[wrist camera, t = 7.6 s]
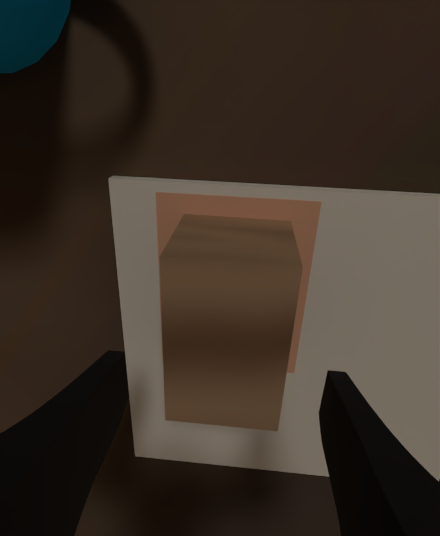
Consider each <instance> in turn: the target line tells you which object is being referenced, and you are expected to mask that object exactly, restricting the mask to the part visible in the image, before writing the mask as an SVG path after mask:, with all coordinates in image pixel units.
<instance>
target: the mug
mask: <svg viewBox="0 0 440 536" xmlns="http://www.w3.org/2000/svg"><path fill="white" fill-rule="evenodd" d="M70 4H71V0H0V73H14V72H16V71H19V70H21V69H23V68H25V67H28V66H30V65H32V64H34V63H36V62H38V61H39V60H40V59H41V58H42V57H43V56H44V55H45V53H46V52H47V51H48V50H49V49H50V48H51V47H52V46H53V45H54V44H55V43H56V42H57V40H58V38H59V35H60V33H61V30H62V28H63V26H64V23H65V21H66V18H67V16H68V13H69V11H70Z"/></svg>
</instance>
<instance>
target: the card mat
mask: <svg viewBox="0 0 440 536" xmlns="http://www.w3.org/2000/svg"><path fill="white" fill-rule="evenodd" d="M108 180H109V190H110V201H111V211H112V221H113V232H114V242H115V253H116V263H117V273H118V284H119V294H120V305H121V315H122V325H123V336H124V346H125V357H126V367H127V377H128V388H129V398H130V409H131V419H132V429H133V440H134V450H135V456H138V457H147V458H157V459H166V460H176V461H185V462H195V463H205V464H214V465H224V466H233V467H243V468H252V469H262V470H272V471H281V472H291V473H300V474H310V475H319V476H329V473H328V469H327V464H326V460H325V455H324V451H323V446H322V441H321V432H320V423H319V409H320V404H321V399H322V395H323V390H324V385H325V380H326V376H327V371H328V370H331V371H342V372H346V373H347V374H348V375H349V377H350V378H351V380H352V381H353V383H354V384H355V385H356V387H357V388H358V390H359V391H360V392H361V394H362V395H363V396H364V398H365V399H366V401H367V402H368V403H369V405H370V406H371V407H372V409H373V410H374V411H375V412H376V414H377V415H378V416H379V417H380V419H381V420H382V421H383V423H384V424H385V425H386V426H387V427H388V429H389V430H390V431H391V432H392V433H393V435H394V436H395V437H396V438H397V439H398V440H399V442H400V443H401V444H402V445H403V446H404V447H405V448H406V449H407V450H408V452H409V453H410V454H411V455H412V456H413V457H414V458H415V459H416V460H417V461H418V462H419V463H420V464H421V465H422V466H423V467H424V468H425V469H426V470H427V471H428V472H429V473H430V474H431V475H432V476H433V477H434V478H435V479H436V480H438V481H439V479H440V194H431V193H413V192H396V191H378V190H360V189H342V188H324V187H306V186H288V185H270V184H252V183H234V182H216V181H198V180H180V179H162V178H144V177H127V176H112V177H110V178H108ZM184 214H194V215H209V216H225V217H240V218H255V219H270V220H286V221H291V224H292V228H293V232H294V235H295V239H296V243H297V247H298V251H299V255H300V258H301V262H302V266H303V270H302V276H301V283H300V289H299V296H298V302H297V309H296V315H295V322H294V328H293V335H292V342H291V348H290V355H289V361H288V368H287V374H286V381H285V387H284V394H283V400H282V407H281V413H280V420H279V426H278V431H268V430H258V429H248V428H238V427H229V426H219V425H209V424H199V423H189V422H179V421H169V420H165V401H164V372H163V344H162V316H161V288H160V260H159V257H160V255H161V253H162V251H163V250H164V248H165V246H166V245H167V243H168V241H169V239H170V238H171V236H172V234H173V232H174V231H175V229H176V227H177V225H178V224H179V222H180V220H181V219H182V217H183V215H184Z"/></svg>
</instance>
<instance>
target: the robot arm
mask: <svg viewBox="0 0 440 536" xmlns="http://www.w3.org/2000/svg"><path fill="white" fill-rule="evenodd" d="M128 396H129V390H128V380H127V369H126V359H125V352H120V351H109V350H108V351H107V352H106V353H105V354H104V355H102V356H101V357H100V358H99V359H98V360H97V361H96V362H94V363H93V364H92V365H91V366H90V367H89V368H88V369H87V370H85V371H84V372H83V373H82V374H81V375H80V376H79V377H77V378H76V379H75V380H74V381H73V382H71V383H70V384H69V385H68V386H67V387H66V388H64V389H63V390H62V391H61V392H59V393H58V394H57V395H56V396H54V397H53V398H52V399H50V400H49V401H48V402H46V403H45V404H44V405H43V406H41V407H40V408H39V409H37V410H36V411H34V412H33V413H32V414H30V415H29V416H27V417H26V418H24V419H23V420H21V421H20V422H18V423H17V424H15V425H14V426H12V427H10V428H9V429H7V430H5V431H4V432H2V433H0V536H74V535H75V532H76V529H77V525H78V523H79V520H80V517H81V514H82V511H83V508H84V505H85V502H86V499H87V497H88V494H89V491H90V489H91V487H92V484H93V482H94V479H95V477H96V475H97V473H98V471H99V468H100V466H101V464H102V462H103V460H104V457H105V455H106V453H107V451H108V449H109V446H110V444H111V442H112V440H113V437H114V435H115V433H116V431H117V429H118V426H119V424H120V422H121V419H122V416H123V412H124V409H125V406H126V403H127V399H128ZM319 423H320V432H321V441H322V446H323V451H324V455H325V460H326V464H327V469H328V473H329V477H330V482H331V486H332V491H333V495H334V499H335V504H336V508H337V513H338V519H339V524H340V531H341V536H440V482H439V481H438V480H436V479H435V478H434V477H433V476H432V475H431V474H430V473H429V472H428V471H427V470H426V469H425V468H424V467H423V466H422V465H421V464H420V463H419V462H418V461H417V460H416V459H415V458H414V457H413V456H412V455H411V454H410V453H409V452H408V450H407V449H406V448H405V447H404V446H403V445H402V444H401V443H400V442H399V440H398V439H397V438H396V437H395V436H394V435H393V433H392V432H391V431H390V430H389V429H388V427H387V426H386V425H385V424H384V423H383V421H382V420H381V419H380V417H379V416H378V415H377V414H376V412H375V411H374V410H373V409H372V407H371V406H370V405H369V403H368V402H367V401H366V399H365V398H364V396H363V395H362V394H361V392H360V391H359V390H358V388H357V387H356V385H355V384H354V383H353V381H352V380H351V378H350V377H349V375H348V374H347V373H346V372H342V371H331V370H328V371H327V376H326V380H325V385H324V390H323V395H322V399H321V404H320V409H319Z"/></svg>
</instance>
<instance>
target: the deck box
mask: <svg viewBox="0 0 440 536" xmlns="http://www.w3.org/2000/svg"><path fill="white" fill-rule="evenodd" d="M159 260H160V288H161V316H162V344H163V372H164V401H165V420H169V421H179V422H189V423H199V424H209V425H219V426H229V427H238V428H248V429H258V430H268V431H278V426H279V420H280V413H281V407H282V400H283V394H284V387H285V381H286V374H287V368H288V361H289V355H290V348H291V342H292V335H293V328H294V322H295V315H296V309H297V302H298V296H299V289H300V283H301V276H302V270H303V266H302V262H301V258H300V255H299V251H298V247H297V243H296V239H295V235H294V232H293V228H292V224H291V221H286V220H270V219H255V218H240V217H225V216H209V215H194V214H184V215H183V217H182V219H181V220H180V222H179V224H178V225H177V227H176V229H175V231H174V232H173V234H172V236H171V238H170V239H169V241H168V243H167V245H166V246H165V248H164V250H163V251H162V253H161V255H160V257H159Z"/></svg>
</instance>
